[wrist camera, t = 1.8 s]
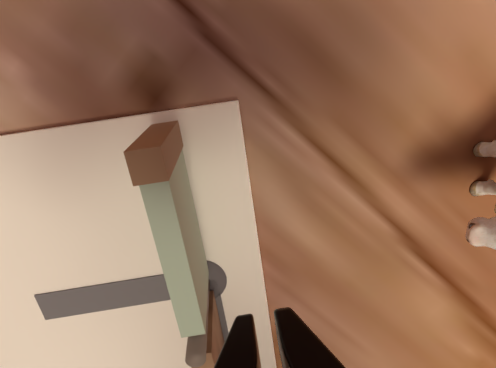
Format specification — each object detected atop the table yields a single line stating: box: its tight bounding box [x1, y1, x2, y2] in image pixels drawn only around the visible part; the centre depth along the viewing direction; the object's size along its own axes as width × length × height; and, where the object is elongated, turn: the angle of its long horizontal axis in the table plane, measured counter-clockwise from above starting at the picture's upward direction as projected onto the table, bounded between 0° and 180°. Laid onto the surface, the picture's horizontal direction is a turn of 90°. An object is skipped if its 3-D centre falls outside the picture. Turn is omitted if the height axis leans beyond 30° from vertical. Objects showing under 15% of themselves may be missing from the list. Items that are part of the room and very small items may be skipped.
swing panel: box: [123, 120, 209, 338], centre depth 17 cm, size 10×1×5 cm, turn 8°
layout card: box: [0, 100, 277, 368], centre depth 21 cm, size 22×20×1 cm
